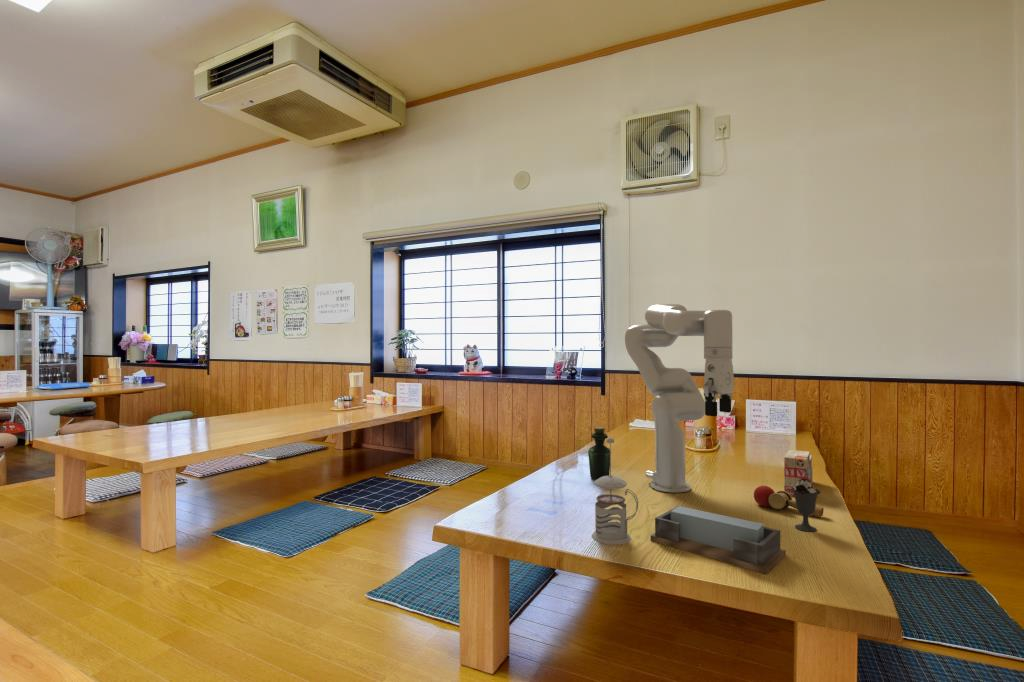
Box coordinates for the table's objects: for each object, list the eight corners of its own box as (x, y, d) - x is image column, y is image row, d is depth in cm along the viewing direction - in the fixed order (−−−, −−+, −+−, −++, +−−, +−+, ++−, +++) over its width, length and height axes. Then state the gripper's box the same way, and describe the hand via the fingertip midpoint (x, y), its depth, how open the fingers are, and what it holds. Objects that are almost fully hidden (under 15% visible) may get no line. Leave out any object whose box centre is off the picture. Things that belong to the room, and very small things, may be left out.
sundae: (810, 523, 138) (809, 467, 138) (826, 533, 131) (825, 474, 131) (785, 524, 137) (785, 467, 137) (800, 533, 131) (800, 474, 131)
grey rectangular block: (670, 535, 127) (670, 511, 127) (678, 529, 131) (678, 506, 131) (757, 557, 114) (757, 530, 114) (763, 550, 118) (763, 523, 118)
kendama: (824, 518, 146) (758, 496, 158) (827, 498, 144) (759, 477, 156) (817, 530, 140) (748, 506, 152) (819, 509, 139) (750, 487, 151)
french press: (595, 527, 136) (595, 433, 136) (640, 533, 132) (640, 435, 132) (587, 541, 127) (586, 440, 127) (635, 548, 122) (634, 443, 122)
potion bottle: (610, 475, 187) (610, 425, 187) (612, 481, 179) (612, 430, 179) (587, 474, 188) (587, 425, 188) (588, 481, 180) (588, 429, 180)
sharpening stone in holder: (650, 540, 127) (650, 517, 127) (675, 526, 137) (675, 505, 136) (766, 574, 108) (766, 547, 108) (785, 555, 118) (785, 531, 118)
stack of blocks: (792, 479, 180) (792, 444, 180) (812, 482, 177) (812, 446, 177) (784, 495, 163) (783, 456, 163) (806, 498, 159) (806, 458, 159)
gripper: (718, 354, 137) (719, 418, 137) (743, 353, 149) (743, 411, 149) (691, 354, 142) (692, 416, 142) (717, 352, 154) (717, 409, 155)
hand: (718, 413), depth 146 cm, fingers open, 9 cm apart
